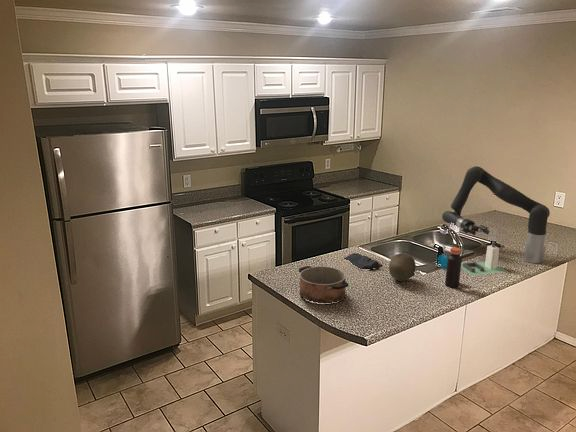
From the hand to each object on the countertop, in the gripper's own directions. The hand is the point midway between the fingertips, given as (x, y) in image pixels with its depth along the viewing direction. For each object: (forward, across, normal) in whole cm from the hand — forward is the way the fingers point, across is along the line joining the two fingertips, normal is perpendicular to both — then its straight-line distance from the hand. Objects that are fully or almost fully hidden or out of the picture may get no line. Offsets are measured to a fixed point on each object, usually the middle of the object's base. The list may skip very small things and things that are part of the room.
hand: (481, 232), depth 261 cm
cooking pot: (+22, -101, +19) cm, 105 cm away
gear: (+5, -24, +18) cm, 30 cm away
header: (+10, -11, +17) cm, 22 cm away
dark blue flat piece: (-13, -67, +19) cm, 71 cm away
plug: (+11, 0, +16) cm, 20 cm away
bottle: (+26, -33, +18) cm, 46 cm away
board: (+11, -6, +18) cm, 22 cm away
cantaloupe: (+15, -56, +18) cm, 61 cm away
